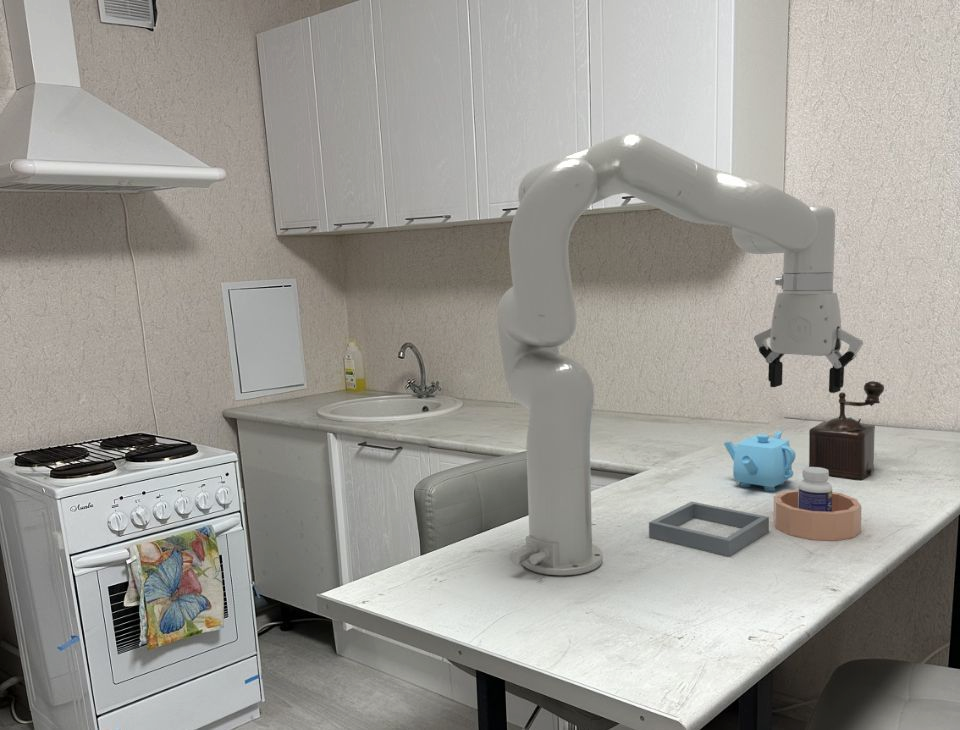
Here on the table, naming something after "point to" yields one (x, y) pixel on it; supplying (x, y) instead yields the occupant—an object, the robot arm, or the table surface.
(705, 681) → the table surface
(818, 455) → the coffee grinder
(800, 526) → the bowl
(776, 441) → the teapot
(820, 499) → the pill bottle
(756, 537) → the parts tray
